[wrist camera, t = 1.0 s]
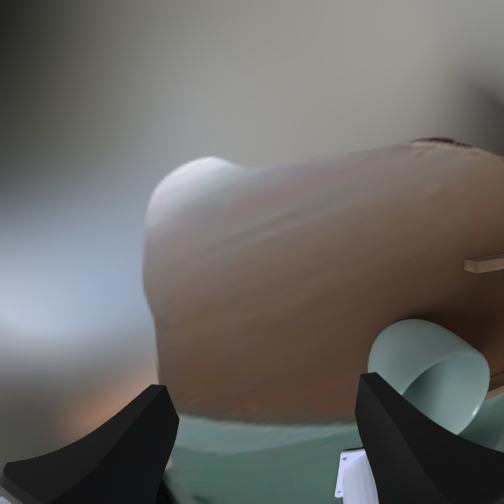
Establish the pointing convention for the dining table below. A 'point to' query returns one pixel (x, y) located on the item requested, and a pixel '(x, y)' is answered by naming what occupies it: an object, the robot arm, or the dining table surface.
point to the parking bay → (481, 265)
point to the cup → (432, 371)
